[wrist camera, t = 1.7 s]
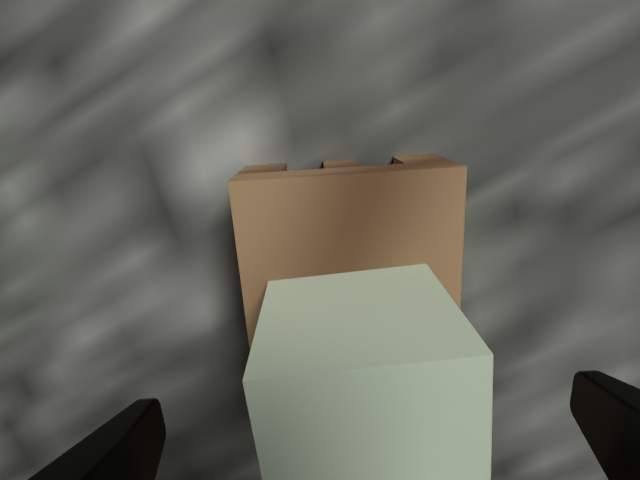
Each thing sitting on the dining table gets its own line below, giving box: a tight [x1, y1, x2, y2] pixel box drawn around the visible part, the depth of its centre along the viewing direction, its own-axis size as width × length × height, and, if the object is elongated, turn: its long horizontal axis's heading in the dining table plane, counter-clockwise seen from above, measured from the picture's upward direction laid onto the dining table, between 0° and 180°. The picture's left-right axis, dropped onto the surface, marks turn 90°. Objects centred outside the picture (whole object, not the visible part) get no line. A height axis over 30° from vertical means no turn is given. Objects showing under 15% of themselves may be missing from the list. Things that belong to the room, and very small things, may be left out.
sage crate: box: [242, 264, 493, 480], centre depth 9 cm, size 4×4×4 cm
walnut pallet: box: [228, 154, 467, 350], centre depth 12 cm, size 6×9×3 cm, turn 4°
